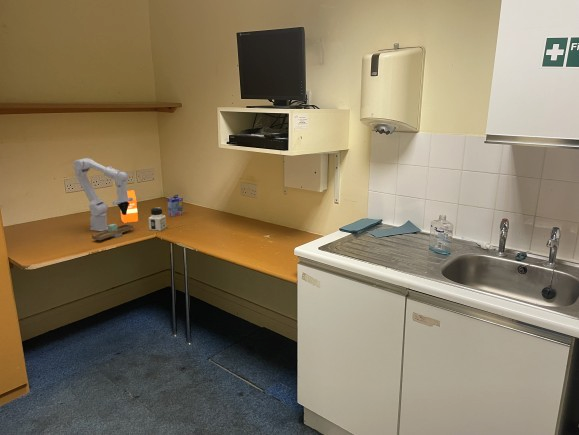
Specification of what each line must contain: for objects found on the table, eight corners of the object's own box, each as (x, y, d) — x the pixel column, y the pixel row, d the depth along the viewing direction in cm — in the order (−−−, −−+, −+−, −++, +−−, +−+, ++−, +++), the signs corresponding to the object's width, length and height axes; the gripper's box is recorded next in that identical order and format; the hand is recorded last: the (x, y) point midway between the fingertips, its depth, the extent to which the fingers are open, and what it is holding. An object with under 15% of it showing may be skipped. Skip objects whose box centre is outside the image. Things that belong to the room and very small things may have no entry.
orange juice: (138, 221, 293) (135, 191, 288) (124, 223, 289) (121, 192, 283) (134, 218, 300) (132, 189, 295) (121, 220, 295) (118, 190, 290)
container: (160, 230, 272) (159, 210, 269) (149, 230, 274) (147, 209, 270) (166, 227, 280) (165, 207, 276) (155, 226, 281) (153, 206, 278)
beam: (91, 241, 251) (90, 235, 250) (124, 229, 274) (124, 223, 273) (101, 243, 248) (101, 236, 247) (135, 231, 271) (134, 225, 270)
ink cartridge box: (173, 217, 304) (171, 196, 300) (167, 215, 307) (166, 195, 303) (184, 214, 312) (182, 193, 308) (178, 213, 315) (177, 192, 311)
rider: (108, 232, 259) (107, 225, 258) (113, 230, 263) (112, 223, 262) (112, 232, 258) (111, 226, 257) (117, 230, 261) (116, 224, 260)
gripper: (118, 195, 257) (120, 218, 260) (136, 190, 270) (138, 212, 273) (109, 194, 260) (111, 216, 263) (127, 189, 272) (129, 211, 276)
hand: (124, 214), depth 268 cm, fingers closed
